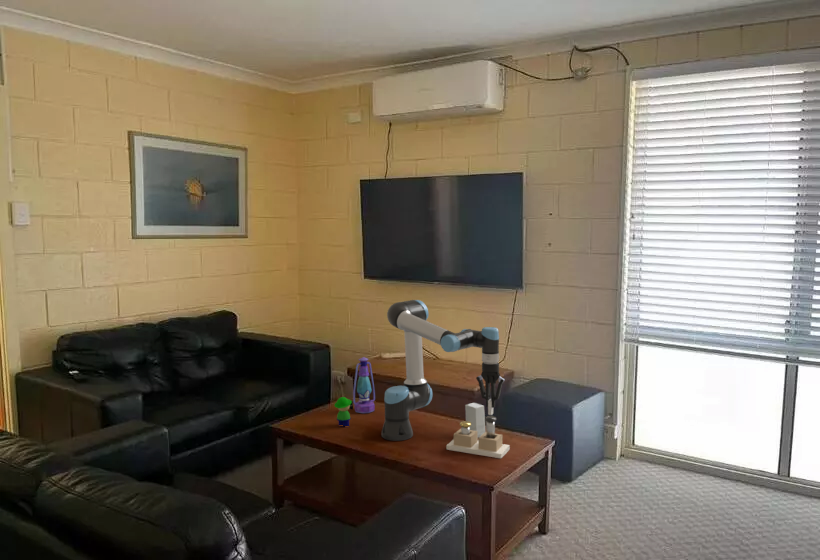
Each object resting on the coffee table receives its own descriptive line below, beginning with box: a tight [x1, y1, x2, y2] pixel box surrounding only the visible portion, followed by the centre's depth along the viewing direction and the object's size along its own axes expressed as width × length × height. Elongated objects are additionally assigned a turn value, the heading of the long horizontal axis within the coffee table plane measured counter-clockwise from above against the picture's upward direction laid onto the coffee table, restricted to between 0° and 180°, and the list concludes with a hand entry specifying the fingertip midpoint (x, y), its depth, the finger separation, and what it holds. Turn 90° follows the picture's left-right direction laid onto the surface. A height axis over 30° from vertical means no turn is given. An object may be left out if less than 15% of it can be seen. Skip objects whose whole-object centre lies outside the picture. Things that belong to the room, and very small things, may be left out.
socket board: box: [445, 428, 511, 459], centre depth 283 cm, size 26×12×7 cm, turn 64°
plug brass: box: [459, 420, 471, 435], centre depth 286 cm, size 5×5×9 cm
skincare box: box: [464, 402, 486, 439], centre depth 302 cm, size 8×6×15 cm
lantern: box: [352, 356, 376, 414], centre depth 342 cm, size 13×12×30 cm
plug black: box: [485, 415, 497, 439], centre depth 280 cm, size 5×5×9 cm
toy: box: [333, 396, 354, 427], centre depth 318 cm, size 9×9×15 cm
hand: (490, 414), depth 279 cm, fingers closed
